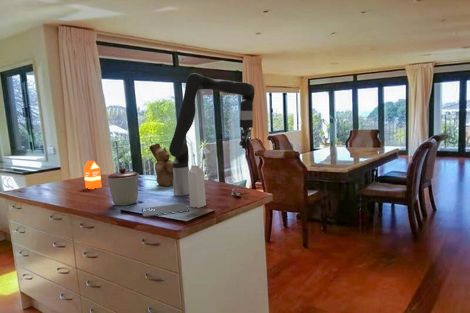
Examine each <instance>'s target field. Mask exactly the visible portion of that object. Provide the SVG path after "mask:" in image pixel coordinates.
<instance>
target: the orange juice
mask: <svg viewBox="0 0 470 313" xmlns="http://www.w3.org/2000/svg"><path fill="white" fill-rule="evenodd" d="M83 173H84V183H85V189H87V188H88V189H89V190H94V189H95V188H96V189H100V188H102V187H103V186H102V178H101V175H102V174H101V168H100V166H99V165H98V164H97V163H96V161H95V160H87V161H86V164H85V165H84V167H83Z"/></svg>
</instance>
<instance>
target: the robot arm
mask: <svg viewBox="0 0 470 313" xmlns="http://www.w3.org/2000/svg"><path fill="white" fill-rule="evenodd" d="M199 90H213V91H216V92H217V91H218V92H220V93H224V94H225V93H226V94H230V95H231V94H232V95H234V94H236V95H240V96H242V99H241V101H240V105H239V106H240V107H239V108H240V110H239V111H240V112H239V128H241V130H240V141H241V149H247V148H250V147H251V140H252V128H254V111H253V110H254V99H255V87H254V85H253V84H251V83H249V82H244V81H243V82H242V81H233V80H227V79H214V78H210V77H207V76H205V75H203V74H200V73H195V72H193V73H190V74H189V75H188V76H187V78H186V81H185V89H184V93H183V97H182V98H183V99H182V102H181V107H180V111H179V114H178V116H177V117H178V118H177V122H176V125H175V129H174V132H173V137H172V139H171V142H170V144H169V147H168V148H169V150H168V151H169V152H168V153H169V155H171V156H172V157H173V158H175V159H174V161H172V162H173V175H174V180H173V185H172V190H173V192H172V193H173V196H179V197H181V196H183V197H184V196H188V195H189V181H188V171H189V158H190V157H189V156H190V155H189V147H188V144H187V142H185V139H186V136H187V134H188V132H189V130H190V129H191V128H192V126H193V124H194V120H195V118H196V112H197V111H196V110H197V109H196V98H197V93H198V91H199ZM250 128H251V129H250Z"/></svg>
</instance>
